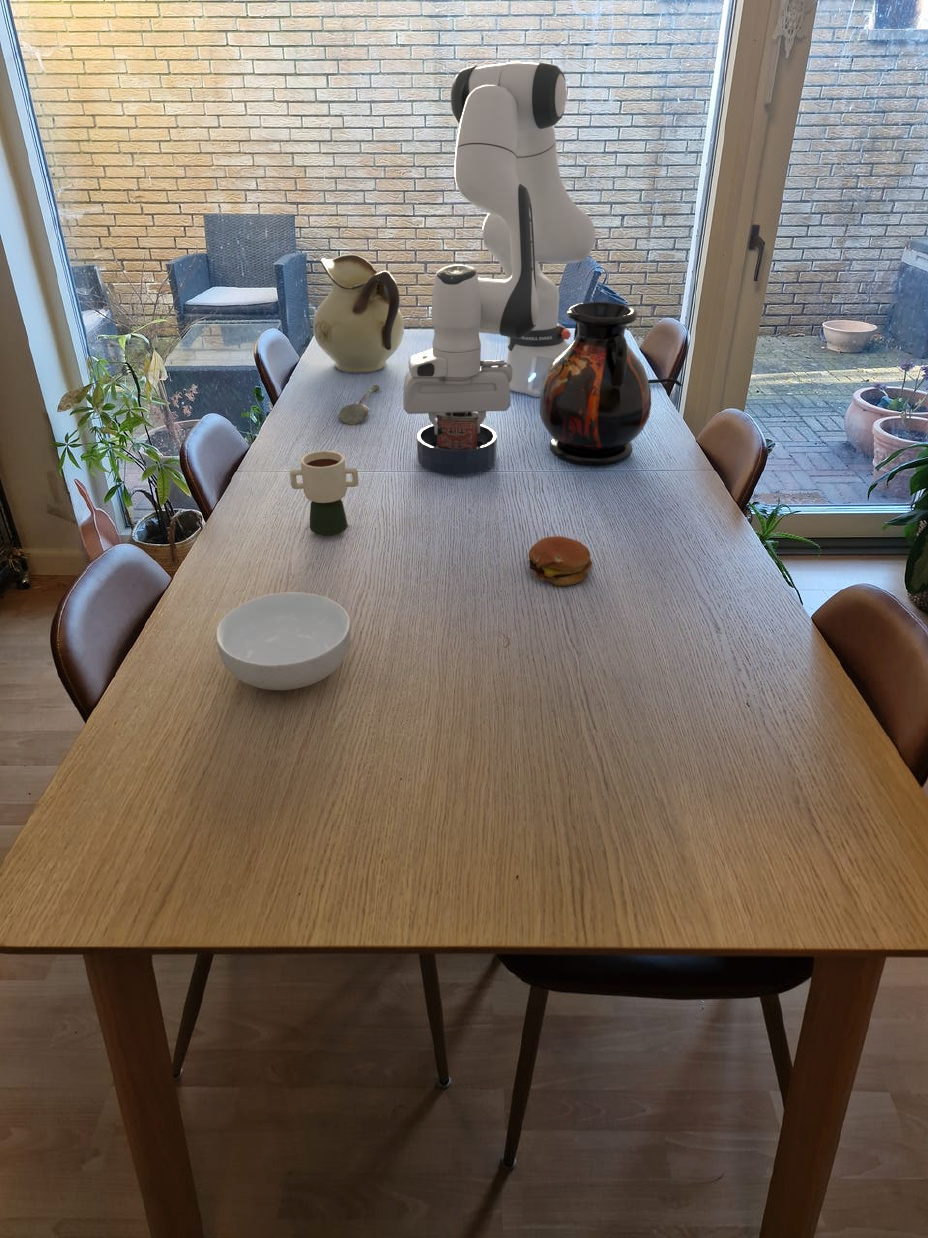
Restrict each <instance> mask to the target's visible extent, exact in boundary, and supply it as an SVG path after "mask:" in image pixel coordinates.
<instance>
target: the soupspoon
mask: <svg viewBox="0 0 928 1238" xmlns="http://www.w3.org/2000/svg"><path fill="white" fill-rule="evenodd" d="M380 388H381V387H380V385H379V384H377V383H375V384H373V385H372V387H371V388H370V389H369V390H368V391H367V392H366V393H365V394H364V395H363V396H362V397H361V399H360V400H359V401H358V402H354V403H353V402H352V403H350V404H347V405H344V406H343V407H341V409H340V410H339V412H338V418H339V420H340V421H341V422H342V423H345V424H347V425H356V424H361V423H362V422H364V421H365V420H366V419H368V417H369V414H370V408H369V406H367V405H366V404H363V403H364V401H365V400H366V399H367V398H368V396H370V394H371V393H372V392H378V391H380Z"/></svg>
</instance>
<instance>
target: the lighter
mask: <svg viewBox="0 0 928 1238" xmlns="http://www.w3.org/2000/svg"><path fill="white" fill-rule="evenodd" d="M478 417H479V415H478V412H454V413H436V418H435V419H436V421H437V424H438V425H440V426H442V435H437V445H436V447H437V448H441V449H450V450H466V449H472V448H478V447H477V420H478Z"/></svg>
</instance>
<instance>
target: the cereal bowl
mask: <svg viewBox="0 0 928 1238" xmlns="http://www.w3.org/2000/svg"><path fill="white" fill-rule="evenodd" d="M351 627H352V626H351V618H350V616H349V614H348V612H347V611H346V610H345V608H344V607H342V606H341V604H339V603H337V602H336V601H334V600H332V599H330V598H328V597H325V596H321V595H319V594H314V593H310V592H309V593H308V592H299V591H298V592H296V591H288V592H287V591H285V592H276V593H269V594H265V595H261V596H258V597H255V598H252V599H248V600H246V601H244V602H242V603H241V604H239V605H237V606H235V607H234V608H231V610H230V611H228V612H227V613H226V614H225V615H224V617H222V618H221V619H220V622H219V623H218V625H217V628H216V631H215V640H216V645H217V650H218V655H219V657H220V660H221V661H222V663H223V665H224V666H225V668H226V669H227V670H228V672H229V673H230V674H232V676H233V677H235V678H236V679H237V680H239V681H241V682H242V683H244V684H246V685H250V686H252V687H255V688H257V689H258V688H259V689H263V690H267V691H269V690H270V691H290V690H296V689H297V690H298V689H301V688H305V687H309V686H311V685H314V684H316V683H318V682H321V681H322V680H324V679H326V678H328V677H329V676H330V675H331V674H332V673H334V672H336V670H337V669H338V668H339V666H341V664H342V662H344V660H345V658H346V656H347V654H348V651H349V649H350V648H349V647H350V644H351V633H352V632H351V630H352V629H351Z"/></svg>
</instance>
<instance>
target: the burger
mask: <svg viewBox="0 0 928 1238" xmlns="http://www.w3.org/2000/svg"><path fill="white" fill-rule="evenodd" d="M527 557H528V563H529V566H528V567H529V568H528V569H529V570H532V573H533V574H534V576H535V577H536V578H538V579H539V580H541V581H542V582H550V583H552V584H553V585H555V586H557V587H566V586H567V587H568V586H574V585H575V584H576V585H577V584H579V583H581V582H583V581H584V579H586V577H587V576H588V573H589V572H590V569H592V567H593V562H592V559H591V552H590V550H589V548H588V547H587V546H586V545H585V544H583V543H582V542H581V541H579V540H577V539H573V538H570V537H566V536H563V535H553V536H546V537H543V538H541V539H539V540H538V541H537V542H535V543H534V544H533V545H532V546H531V547H530V549H529V552H528V555H527Z"/></svg>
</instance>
